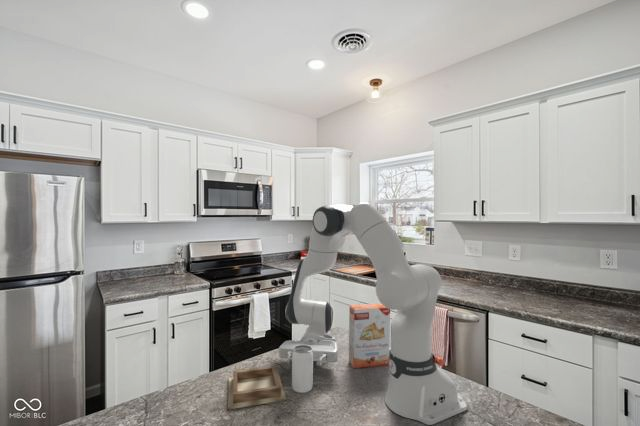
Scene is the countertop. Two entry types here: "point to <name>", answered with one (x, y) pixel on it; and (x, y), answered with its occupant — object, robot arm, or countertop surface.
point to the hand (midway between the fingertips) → (304, 361)
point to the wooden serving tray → (255, 387)
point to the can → (302, 369)
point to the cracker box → (369, 335)
